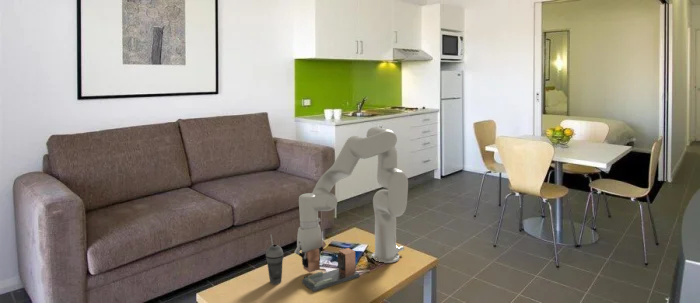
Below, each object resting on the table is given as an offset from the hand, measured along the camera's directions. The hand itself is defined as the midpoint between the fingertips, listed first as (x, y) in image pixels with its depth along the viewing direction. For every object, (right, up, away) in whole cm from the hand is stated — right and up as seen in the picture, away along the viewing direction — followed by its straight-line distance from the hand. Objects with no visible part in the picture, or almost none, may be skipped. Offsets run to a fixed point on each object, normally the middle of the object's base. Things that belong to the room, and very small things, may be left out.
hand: (311, 264), depth 192 cm
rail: (+9, -5, -5) cm, 11 cm away
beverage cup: (-14, -6, -6) cm, 16 cm away
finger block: (0, -2, 0) cm, 2 cm away
